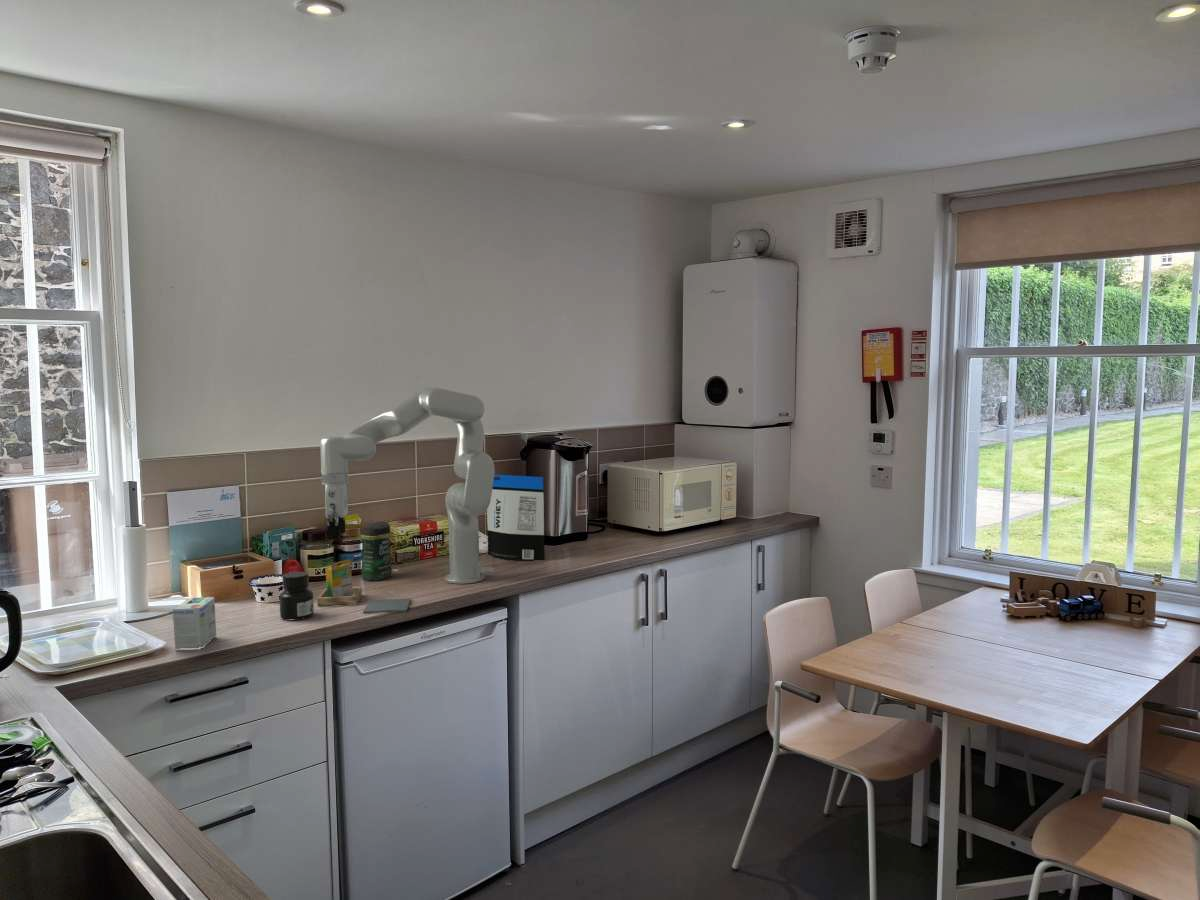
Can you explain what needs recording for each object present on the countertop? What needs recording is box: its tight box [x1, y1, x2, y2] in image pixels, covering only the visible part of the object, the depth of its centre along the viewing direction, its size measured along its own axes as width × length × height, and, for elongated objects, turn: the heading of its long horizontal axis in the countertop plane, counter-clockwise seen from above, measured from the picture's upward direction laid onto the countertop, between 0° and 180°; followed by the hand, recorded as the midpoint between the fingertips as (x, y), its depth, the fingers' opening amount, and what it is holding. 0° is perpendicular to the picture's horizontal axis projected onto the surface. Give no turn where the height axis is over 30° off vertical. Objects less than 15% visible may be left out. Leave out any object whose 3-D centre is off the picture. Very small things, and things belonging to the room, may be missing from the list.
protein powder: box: [486, 474, 546, 562], centre depth 311 cm, size 10×24×30 cm, turn 63°
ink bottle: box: [279, 571, 315, 620], centre depth 240 cm, size 10×9×12 cm
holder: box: [316, 586, 363, 607], centre depth 257 cm, size 11×11×2 cm
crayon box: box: [325, 558, 353, 597], centre depth 256 cm, size 7×3×12 cm, turn 146°
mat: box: [362, 598, 412, 614], centre depth 250 cm, size 12×12×1 cm
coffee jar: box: [360, 521, 393, 582], centre depth 283 cm, size 10×8×19 cm
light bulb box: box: [172, 596, 217, 650], centre depth 218 cm, size 11×7×11 cm, turn 5°
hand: (336, 536), depth 255 cm, fingers open, 9 cm apart
